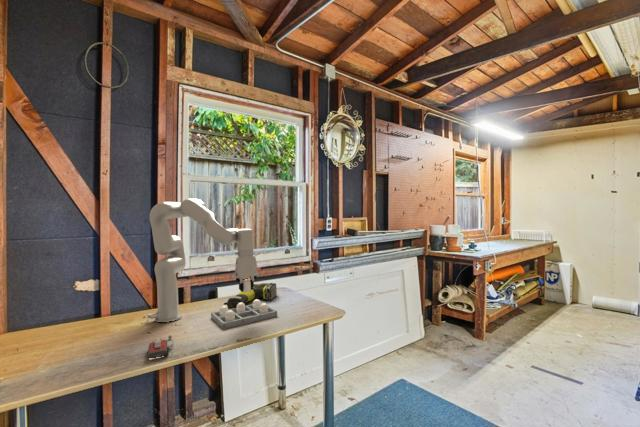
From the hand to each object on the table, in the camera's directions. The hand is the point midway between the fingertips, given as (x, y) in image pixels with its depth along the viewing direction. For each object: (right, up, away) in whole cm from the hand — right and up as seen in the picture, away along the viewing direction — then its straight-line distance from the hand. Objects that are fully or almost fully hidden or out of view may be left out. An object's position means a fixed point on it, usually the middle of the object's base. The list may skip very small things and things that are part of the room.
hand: (246, 289), depth 157 cm
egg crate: (-2, -15, +5) cm, 16 cm away
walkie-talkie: (-27, -17, -31) cm, 44 cm away
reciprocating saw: (-3, -15, +33) cm, 36 cm away
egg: (0, -1, 0) cm, 1 cm away
